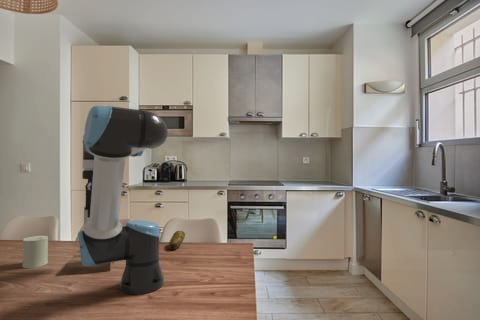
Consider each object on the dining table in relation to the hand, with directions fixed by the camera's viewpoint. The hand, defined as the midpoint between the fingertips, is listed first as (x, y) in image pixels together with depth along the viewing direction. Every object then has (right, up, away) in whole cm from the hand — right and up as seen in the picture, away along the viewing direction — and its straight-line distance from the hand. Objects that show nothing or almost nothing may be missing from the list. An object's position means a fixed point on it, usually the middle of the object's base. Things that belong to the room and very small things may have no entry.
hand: (91, 223), depth 123 cm
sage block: (0, 0, 0) cm, 0 cm away
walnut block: (+1, -19, +1) cm, 19 cm away
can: (-26, -19, +2) cm, 32 cm away
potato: (+30, -19, +29) cm, 46 cm away
